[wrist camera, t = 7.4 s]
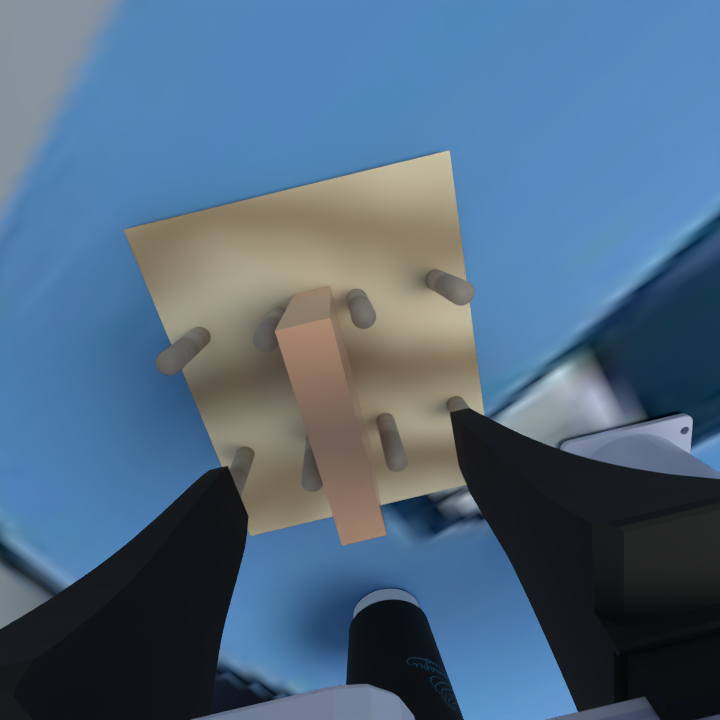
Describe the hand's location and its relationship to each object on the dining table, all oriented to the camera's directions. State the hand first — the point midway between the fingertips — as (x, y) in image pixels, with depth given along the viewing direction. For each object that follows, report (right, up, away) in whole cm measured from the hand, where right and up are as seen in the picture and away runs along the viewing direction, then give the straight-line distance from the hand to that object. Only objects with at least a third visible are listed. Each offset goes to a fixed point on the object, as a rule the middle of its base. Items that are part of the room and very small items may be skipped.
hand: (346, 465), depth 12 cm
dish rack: (-1, +3, +9) cm, 9 cm away
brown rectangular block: (-1, +3, +8) cm, 9 cm away
